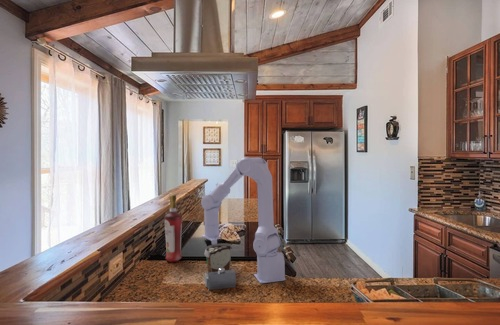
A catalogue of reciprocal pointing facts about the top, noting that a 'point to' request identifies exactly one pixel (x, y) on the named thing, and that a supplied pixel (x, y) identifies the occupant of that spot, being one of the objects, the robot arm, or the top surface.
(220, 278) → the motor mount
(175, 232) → the liquor
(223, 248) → the food container
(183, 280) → the top surface
